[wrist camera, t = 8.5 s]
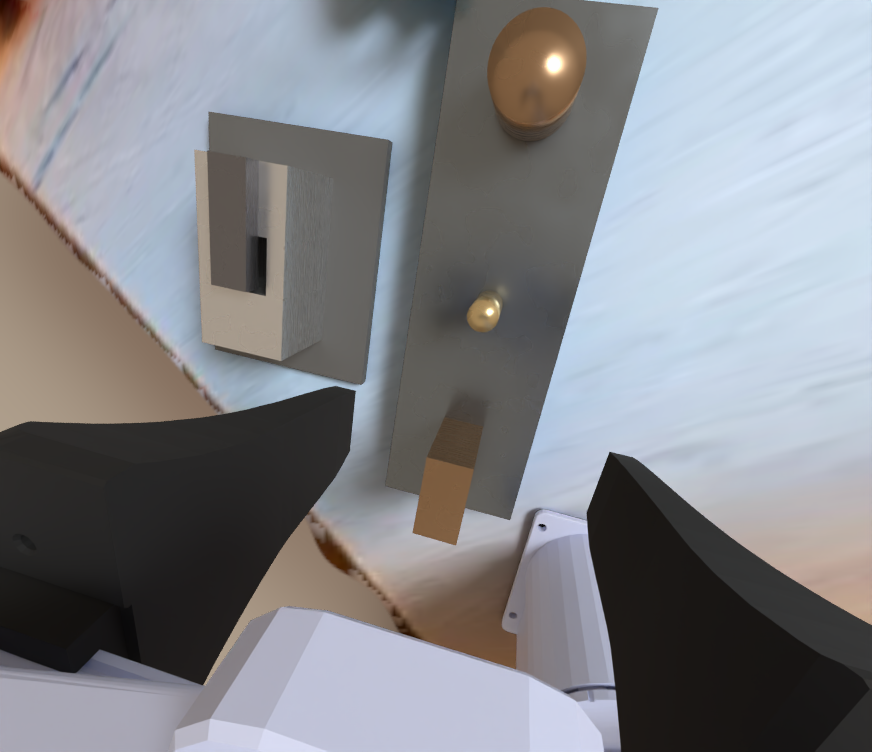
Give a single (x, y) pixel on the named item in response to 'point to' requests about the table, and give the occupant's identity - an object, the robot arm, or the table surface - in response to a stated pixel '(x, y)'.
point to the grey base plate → (506, 240)
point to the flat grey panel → (348, 234)
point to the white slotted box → (261, 254)
